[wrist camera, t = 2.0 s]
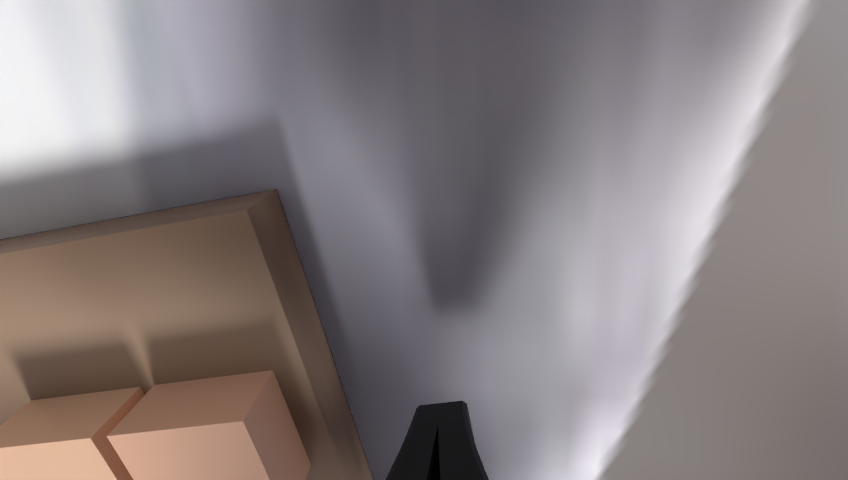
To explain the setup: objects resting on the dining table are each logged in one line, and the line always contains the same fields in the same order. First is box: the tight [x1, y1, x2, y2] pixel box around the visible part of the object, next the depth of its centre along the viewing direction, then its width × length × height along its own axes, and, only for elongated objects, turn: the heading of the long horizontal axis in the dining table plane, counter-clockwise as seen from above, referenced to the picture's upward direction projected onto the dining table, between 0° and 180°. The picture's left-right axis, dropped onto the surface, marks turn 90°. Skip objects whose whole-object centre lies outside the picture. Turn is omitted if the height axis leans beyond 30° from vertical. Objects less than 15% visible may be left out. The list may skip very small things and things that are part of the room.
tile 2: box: [0, 387, 144, 480], centre depth 13 cm, size 4×4×2 cm
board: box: [0, 189, 373, 480], centre depth 15 cm, size 14×12×2 cm
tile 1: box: [107, 370, 311, 480], centre depth 13 cm, size 4×4×2 cm
